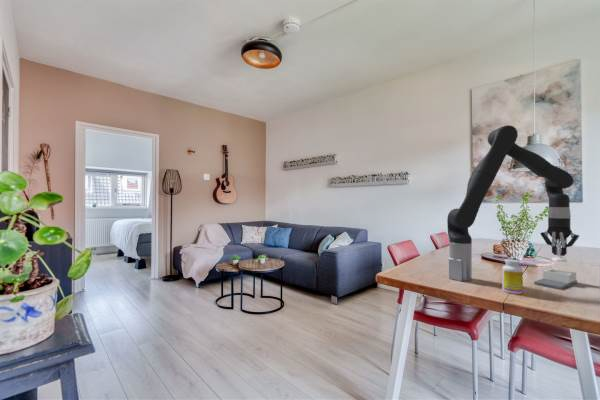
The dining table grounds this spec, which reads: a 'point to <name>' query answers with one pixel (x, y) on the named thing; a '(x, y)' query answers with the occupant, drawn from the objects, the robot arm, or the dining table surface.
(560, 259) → the chess piece
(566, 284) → the end cap plate
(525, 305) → the dining table surface
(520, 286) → the supplement bottle
